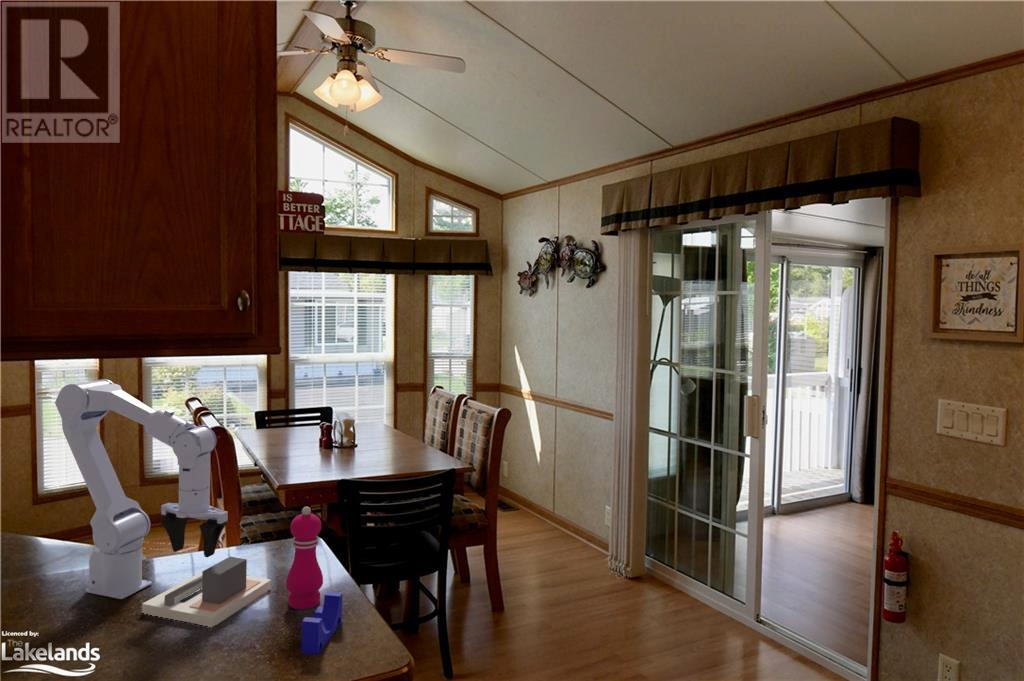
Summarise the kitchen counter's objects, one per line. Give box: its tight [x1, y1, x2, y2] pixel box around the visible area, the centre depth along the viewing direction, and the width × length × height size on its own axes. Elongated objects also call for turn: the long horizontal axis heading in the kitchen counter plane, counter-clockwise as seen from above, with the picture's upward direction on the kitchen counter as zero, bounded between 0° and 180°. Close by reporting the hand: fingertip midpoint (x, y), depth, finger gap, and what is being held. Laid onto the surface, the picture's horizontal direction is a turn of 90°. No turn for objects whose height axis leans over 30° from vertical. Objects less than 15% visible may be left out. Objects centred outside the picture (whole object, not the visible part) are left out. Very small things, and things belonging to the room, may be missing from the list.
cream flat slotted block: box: [141, 571, 272, 629], centre depth 136 cm, size 16×18×4 cm
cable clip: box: [300, 591, 343, 656], centre depth 124 cm, size 12×4×6 cm, turn 175°
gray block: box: [201, 556, 248, 605], centre depth 134 cm, size 4×8×6 cm, turn 164°
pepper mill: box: [285, 506, 324, 610], centre depth 136 cm, size 7×7×20 cm
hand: (193, 552), depth 136 cm, fingers open, 7 cm apart
